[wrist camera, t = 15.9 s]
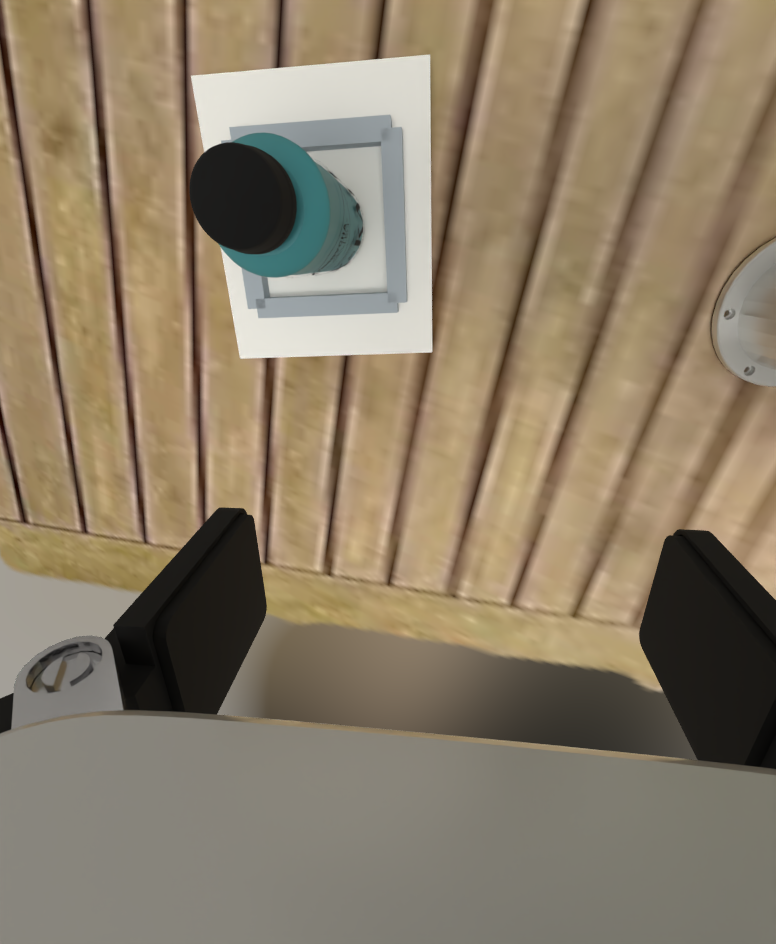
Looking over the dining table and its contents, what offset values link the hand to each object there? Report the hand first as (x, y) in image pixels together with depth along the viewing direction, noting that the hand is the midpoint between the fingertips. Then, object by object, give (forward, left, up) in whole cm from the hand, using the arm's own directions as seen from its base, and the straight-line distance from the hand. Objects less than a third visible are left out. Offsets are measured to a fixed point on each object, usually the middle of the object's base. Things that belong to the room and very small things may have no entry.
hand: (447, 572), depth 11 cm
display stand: (+9, -9, -35) cm, 37 cm away
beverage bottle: (+8, -9, -32) cm, 35 cm away
